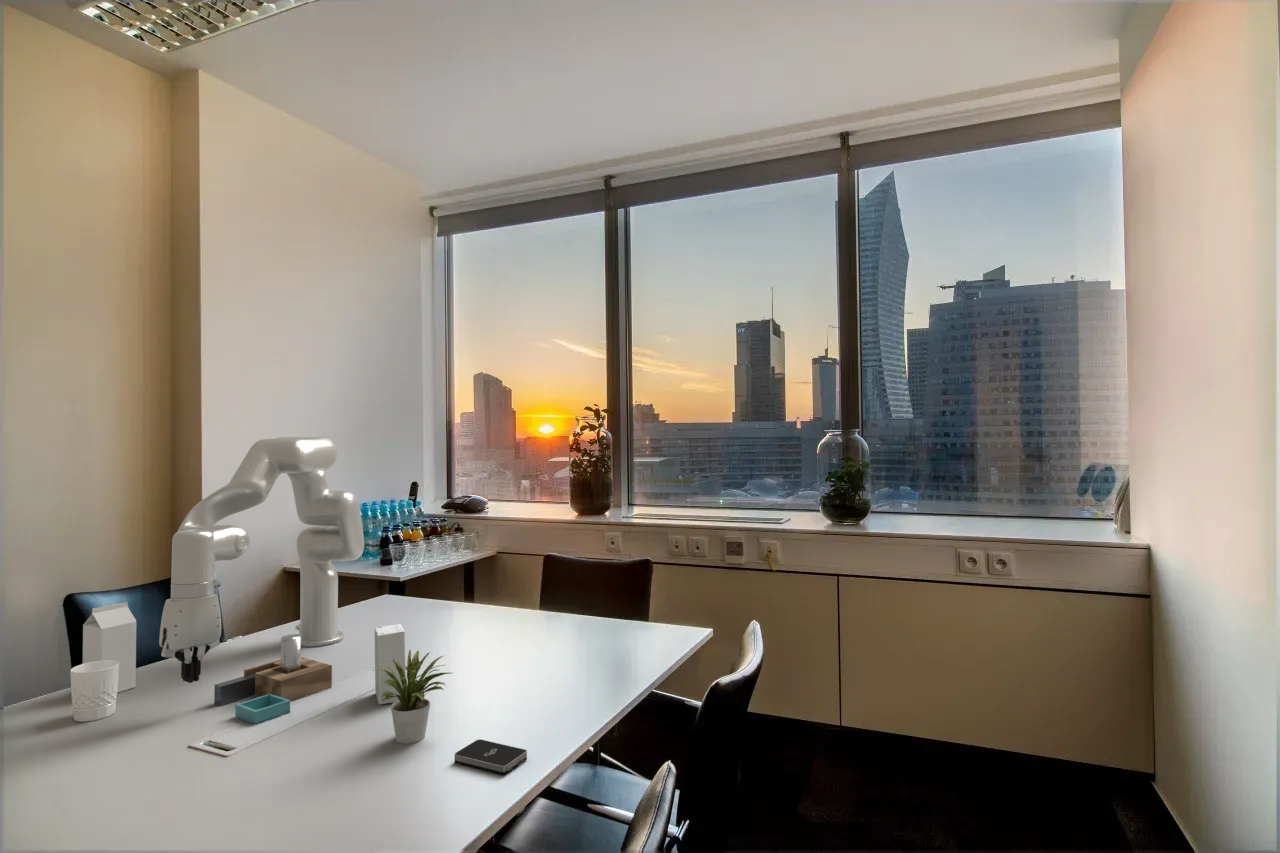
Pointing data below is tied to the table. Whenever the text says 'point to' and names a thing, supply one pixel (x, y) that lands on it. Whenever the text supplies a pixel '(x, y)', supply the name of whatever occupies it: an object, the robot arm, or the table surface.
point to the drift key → (234, 690)
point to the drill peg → (290, 653)
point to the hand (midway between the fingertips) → (190, 680)
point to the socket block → (291, 679)
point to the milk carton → (112, 640)
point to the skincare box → (388, 659)
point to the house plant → (411, 699)
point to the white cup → (94, 690)
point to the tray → (262, 708)
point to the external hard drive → (491, 757)
